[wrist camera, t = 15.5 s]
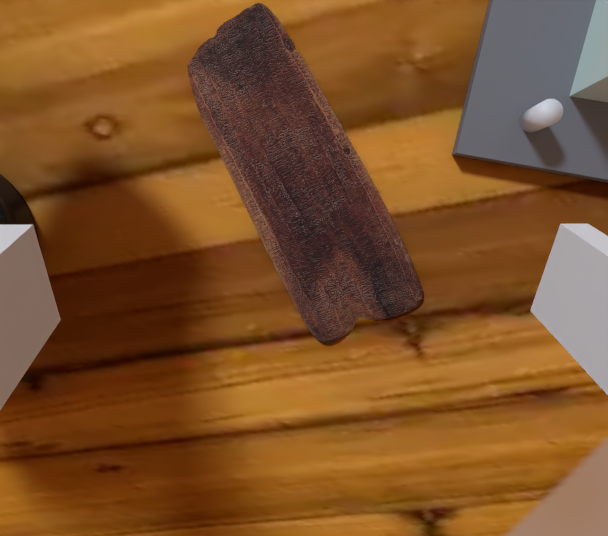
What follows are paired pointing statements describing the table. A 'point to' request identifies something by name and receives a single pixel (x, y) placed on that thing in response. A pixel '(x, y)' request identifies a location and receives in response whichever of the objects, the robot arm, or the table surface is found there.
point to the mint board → (594, 58)
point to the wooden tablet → (300, 178)
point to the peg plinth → (533, 92)
